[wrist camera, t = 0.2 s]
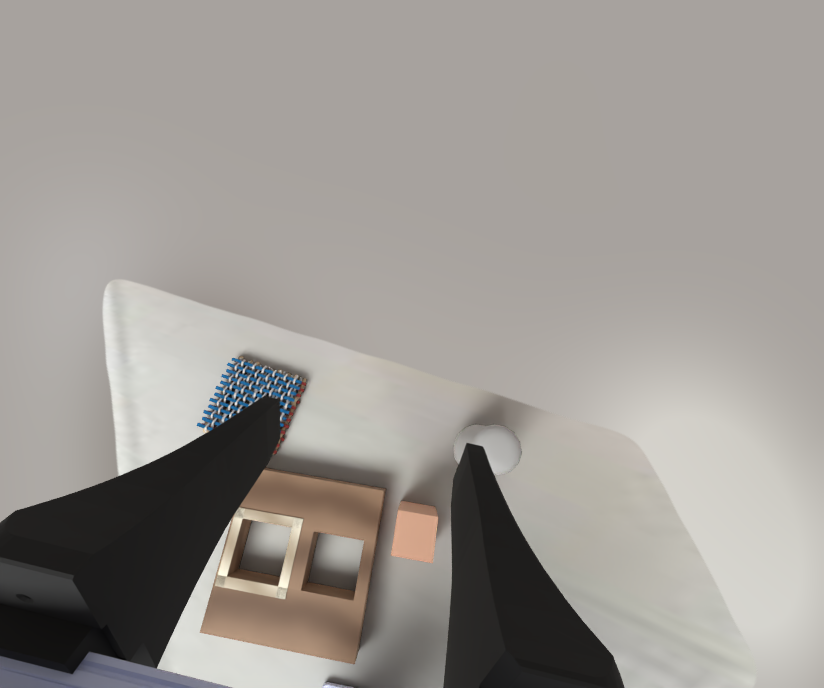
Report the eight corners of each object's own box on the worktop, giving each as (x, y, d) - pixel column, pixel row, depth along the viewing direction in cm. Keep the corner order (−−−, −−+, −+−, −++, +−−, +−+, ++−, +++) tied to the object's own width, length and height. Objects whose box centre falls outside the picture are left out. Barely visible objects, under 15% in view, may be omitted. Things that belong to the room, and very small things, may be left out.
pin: (429, 544, 40) (432, 563, 33) (395, 538, 40) (390, 555, 33) (434, 506, 41) (438, 517, 34) (401, 500, 41) (398, 509, 34)
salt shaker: (475, 486, 41) (500, 500, 29) (441, 449, 43) (451, 447, 30) (509, 451, 42) (547, 451, 30) (475, 416, 44) (498, 401, 31)
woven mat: (278, 459, 43) (271, 460, 41) (202, 431, 44) (192, 430, 42) (312, 380, 46) (307, 377, 44) (239, 355, 47) (232, 351, 45)
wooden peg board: (358, 650, 37) (354, 665, 34) (213, 621, 38) (199, 632, 35) (385, 488, 41) (383, 490, 39) (256, 466, 42) (246, 467, 40)
